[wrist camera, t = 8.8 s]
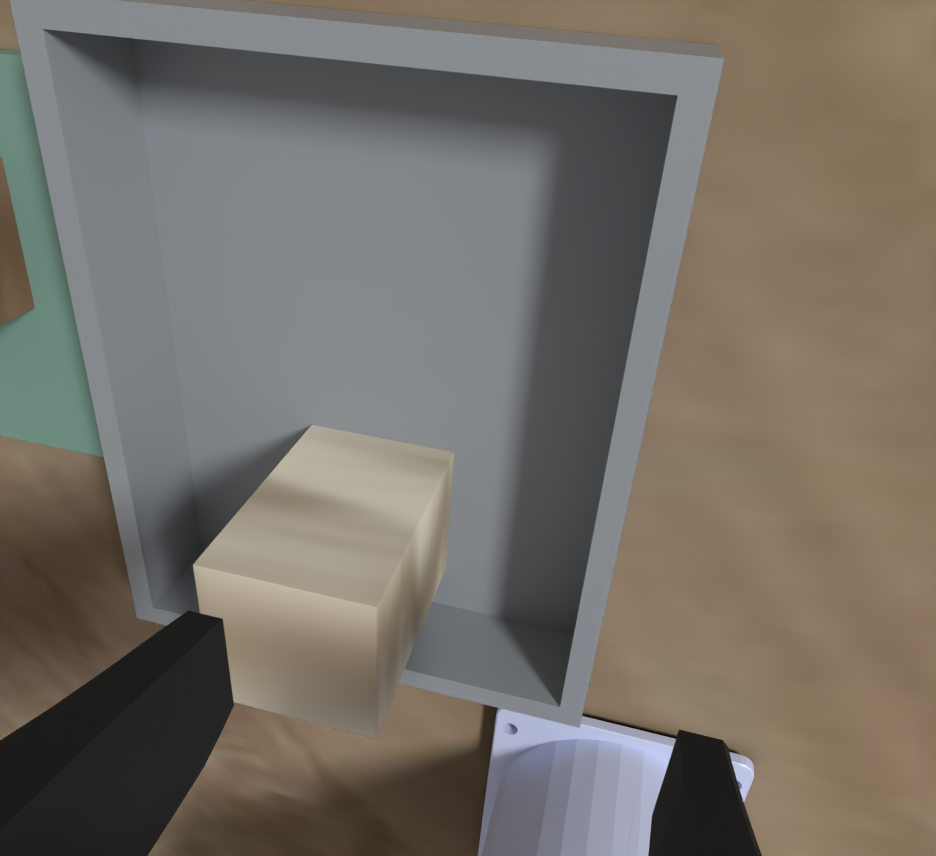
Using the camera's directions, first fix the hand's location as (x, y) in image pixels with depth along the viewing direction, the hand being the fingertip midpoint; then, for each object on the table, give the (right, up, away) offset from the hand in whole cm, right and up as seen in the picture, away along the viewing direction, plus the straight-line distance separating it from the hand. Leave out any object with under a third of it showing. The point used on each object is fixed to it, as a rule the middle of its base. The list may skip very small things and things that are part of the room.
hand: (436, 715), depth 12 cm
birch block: (-2, +2, +10) cm, 10 cm away
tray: (-2, +6, +8) cm, 10 cm away
